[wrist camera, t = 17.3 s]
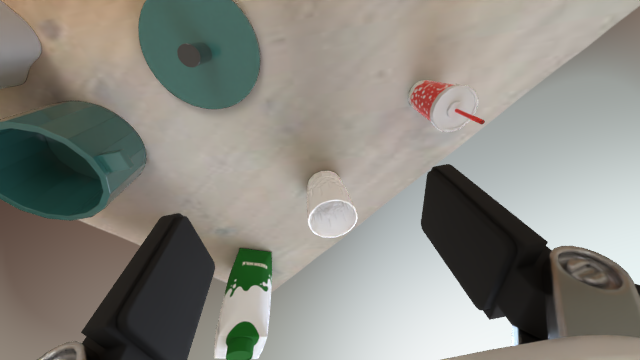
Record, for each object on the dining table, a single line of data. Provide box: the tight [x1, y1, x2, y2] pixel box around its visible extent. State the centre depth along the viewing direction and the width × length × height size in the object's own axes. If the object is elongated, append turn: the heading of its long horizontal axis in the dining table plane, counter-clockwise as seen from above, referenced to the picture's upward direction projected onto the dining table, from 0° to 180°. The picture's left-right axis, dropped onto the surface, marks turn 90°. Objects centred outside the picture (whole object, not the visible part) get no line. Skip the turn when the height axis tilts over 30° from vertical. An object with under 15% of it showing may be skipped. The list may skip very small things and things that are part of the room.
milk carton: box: [214, 248, 272, 360], centre depth 45 cm, size 9×9×20 cm
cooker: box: [0, 101, 146, 221], centre depth 32 cm, size 14×19×10 cm
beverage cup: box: [408, 80, 485, 132], centre depth 32 cm, size 6×6×14 cm
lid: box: [138, 0, 260, 109], centre depth 29 cm, size 15×15×6 cm
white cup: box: [307, 171, 357, 238], centre depth 41 cm, size 8×8×10 cm
